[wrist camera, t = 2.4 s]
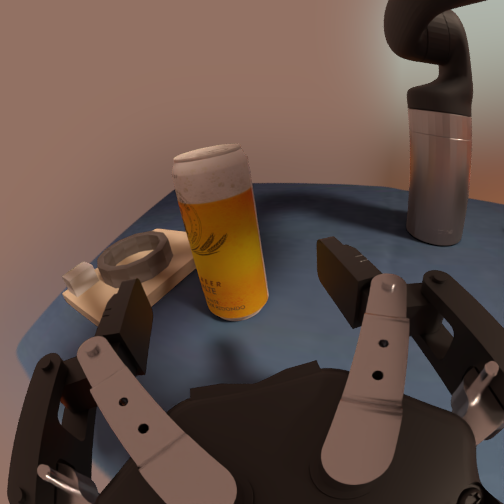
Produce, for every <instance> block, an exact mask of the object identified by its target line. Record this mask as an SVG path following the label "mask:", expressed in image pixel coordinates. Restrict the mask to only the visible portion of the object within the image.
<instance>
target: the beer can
mask: <svg viewBox="0 0 504 504" xmlns="http://www.w3.org/2000/svg"><path fill="white" fill-rule="evenodd" d="M173 160H174V164H173V169H172V179H173V183H174V187H175V191H176V195H177V199H178V203H179V207H180V211H181V215H182V219H183V222H184V226H185V230H186V234H187V237H188V241H189V244H190V248H191V252H192V255H193V259H194V262H195V265H196V269H197V272H198V276H199V279H200V282H201V285H202V289H203V292H204V295H205V298H206V301H207V305H208V308H209V309H210V311H211V312H212V313H213V314H215V315H217V316H219V317H221V318H223V319H225V320H229V321H241V320H245V319H248V318H250V317H252V316H254V315H256V314H257V313H258V312H259V311H260V310H261V309H262V307H263V306H264V305H265V303H266V302H267V300H268V296H269V295H268V287H267V280H266V273H265V266H264V259H263V252H262V246H261V239H260V232H259V226H258V219H257V212H256V206H255V199H254V193H253V186H252V180H251V174H250V167H249V161H248V157H247V156H246V154H245V153H244V151H243V150H242V148H241V145H240V144H224V145H217V146H211V147H206V148H202V149H197V150H193V151H190V152H187V153H184V154H181V155H179V156H176V157H175V158H173Z"/></svg>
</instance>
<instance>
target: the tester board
mask: <svg viewBox="0 0 504 504" xmlns="http://www.w3.org/2000/svg"><path fill="white" fill-rule="evenodd" d="M97 261H98V268H97V269H95V270H94V268H93V266H92V265H91V264H88V263H86V262H82V263H80V264H79V265H77V266H76V267H74V268H73V269H72V270H70V271H69V272H67V273H66V274H65V275H63V276H62V278H63V279H64V282H65V283H66V286H67V288H68V290H66V291H65V292H64V293H63V296H64V298H65V300H66V302H67V303H68V304H70V305H71V306H72V307H73V308H74V309H76V310H77V311H78V312H79V313H81V314H82V315H83V316H85V317H86V318H87V319H88V320H90V321H91V322H92V323H94V324H95V325H96V326H98V325H99V323H100V320H101V317H102V315H103V312H104V311H105V307H106V304H107V302H108V301H109V299H110V298H111V297H112V296H113V295H114V294H117V292H118V290H119V287H120V285H121V282H122V281H126V280H130V279H135V278H138V279H139V280H140V282H141V284H142V286H143V289H144V291H145V293H146V296H147V298H148V300H149V303H150V305H151V307H152V306H153V305H154V304H155V303H156V302H158V301H159V300H160V299H161V298H162V297H163V296H164V295H166V294H167V293H168V292H169V291H170V290H171V289H172V288H174V287H175V286H176V285H177V284H178V283H179V282H180V281H182V280H183V279H184V278H185V277H186V276H187V275H189V274H190V273H191V272H192V271H193V270H194V269H196V265H195V262H194V259H193V255H192V252H191V248H190V244H189V241H188V237H187V234H186V232H181V231H173V230H164V229H155V230H153V231H149V232H144V233H138V234H134V235H132V236H129V237H127V238H124V239H122V240H119V241H118V242H116V243H115V244H113V245H112V246H110V247H109V248H107V249H106V250H105V251H104V252H103V253H102V254H101V255H100V257H99V258H98V259H97Z"/></svg>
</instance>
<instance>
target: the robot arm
mask: <svg viewBox="0 0 504 504" xmlns="http://www.w3.org/2000/svg"><path fill="white" fill-rule="evenodd" d="M482 1H486V0H389V1H388V3H387V6H386V10H385V15H384V32H385V37H386V40H387V43H388V45H389V47H390V48H391V50H392V51H393V52H394V53H395V54H396V55H398V56H400V57H402V58H404V59H407V60H411V61H416V62H424V63H430V64H437V65H439V76H438V78H437V79H436V80H434V81H433V82H431V83H428V84H425V85H421V86H416V87H413V88H411V89H409V90H408V92H407V103H408V108H409V109H408V115H409V130H410V131H409V133H410V180H409V199H408V212H407V223H406V228H407V230H408V232H409V233H410V234H411V235H413V236H414V237H416V238H417V239H419V240H422V241H424V242H427V243H430V244H435V245H453V244H456V243H458V242H459V241H460V240H461V238H462V233H463V227H464V222H465V216H466V210H467V203H468V194H469V185H470V174H471V173H470V172H471V157H472V118H471V104H472V98H473V83H472V72H471V63H470V54H469V47H468V41H467V37H466V33H465V30H464V27H463V24H462V23H461V21H460V19H459V17H458V16H457V15H456V14H455V13H454V12H453V11H452V10H451V9H454V8H458V7H461V6H466V5H470V4H474V3H478V2H482ZM317 272H318V277H319V280H320V282H321V284H322V285H323V286H324V288H325V289H326V291H327V292H328V294H329V295H330V296H331V298H332V299H333V301H334V302H335V304H336V305H337V307H338V308H339V309H340V311H341V312H342V314H343V315H344V317H345V318H346V320H347V321H348V323H349V324H350V326H351V327H352V329H354V328H357V327H360V326H362V327H361V331H360V335H359V339H358V343H357V347H356V351H355V355H354V358H353V362H352V365H351V369H350V372H349V371H346V370H341V369H334V368H322V369H320V367H319V365H318V363H317V360H316V361H312V362H309V363H306V364H302V365H299V366H295V367H291V368H288V369H285V370H283V371H281V372H279V373H277V374H275V375H273V376H271V377H269V378H267V379H264V380H262V381H260V382H258V383H254V384H216V385H210V386H204V387H197V388H191V389H190V398H189V399H186V400H184V401H182V402H180V403H179V404H177V405H175V406H174V407H173V408H171V409H170V410H169V411H168V412H167V413H165V412H164V410H163V409H162V408H161V407H160V406H159V405H158V404H157V403H156V402H155V400H154V399H153V398H152V397H151V396H150V395H149V394H148V392H147V391H146V390H145V389H144V388H143V386H142V385H141V384H140V383H139V382H138V380H137V379H136V378H135V377H136V376H137V375H145V374H146V365H147V357H148V349H149V342H150V335H151V329H152V322H153V312H152V308H151V305H150V303H149V300H148V298H147V296H146V293H145V291H144V289H143V286H142V284H141V282H140V280H139V279H138V278H135V279H130V280H126V281H122V282H121V285H120V287H119V290H118V292H117V294H114V295H113V296H112V297H111V298H110V299H109V301H108V302H107V304H106V307H105V311H104V312H103V315H102V317H101V320H100V323H99V325H98V328H97V331H96V334H95V337H92V338H90V339H88V340H86V341H85V342H84V343H83V344H82V345H81V346H80V347H79V349H78V352H77V356H76V357H74V358H71V359H68V360H66V361H63V360H62V359H61V358H60V356H59V355H58V354H56V353H50V354H47V355H45V356H44V357H43V358H41V359H40V360H39V362H38V363H37V365H36V367H35V370H34V373H33V376H32V378H31V381H30V384H29V387H28V391H27V394H26V397H25V400H24V404H23V407H22V411H21V415H20V419H19V422H18V427H17V431H16V435H15V440H14V446H13V450H12V456H11V463H10V470H9V478H8V488H7V489H8V490H7V495H8V500H9V503H10V504H503V503H502V502H500V501H499V500H497V499H496V498H495V497H493V496H492V495H491V494H490V493H489V492H488V491H487V490H486V489H485V488H484V487H483V485H482V484H481V482H480V479H479V474H478V469H477V460H476V446H477V445H478V444H479V443H481V442H482V441H483V440H489V439H491V438H493V437H494V436H495V435H496V434H497V433H499V432H500V431H501V430H502V429H503V428H504V328H503V327H502V326H501V325H500V324H499V323H498V322H497V321H496V320H495V319H494V317H493V316H492V315H491V314H490V313H489V312H488V311H487V310H486V309H485V308H484V307H483V306H482V305H481V304H480V303H479V302H478V301H477V300H476V299H475V298H474V297H473V296H472V295H471V294H469V293H468V292H467V291H466V290H465V289H464V288H463V287H462V286H461V285H460V284H459V283H458V282H457V281H456V280H454V279H453V278H452V277H451V276H450V275H449V274H447V273H445V272H442V271H438V270H431V271H428V272H426V273H425V274H424V276H423V281H422V283H413V284H406V282H405V281H404V280H403V279H402V278H401V277H399V276H397V275H394V274H382V273H381V272H380V271H379V270H378V269H377V268H376V267H375V266H374V265H373V264H372V263H371V262H370V261H369V260H367V258H365V257H364V256H363V255H362V254H361V253H360V252H359V251H358V250H357V249H356V248H353V247H351V246H349V245H343V244H342V243H341V242H340V241H338V240H337V239H336V238H335V237H334V236H333V237H328V238H324V239H319V240H318V241H317ZM443 318H445V319H446V320H447V322H448V323H449V324H450V325H451V326H452V328H453V331H454V338H453V336H452V335H451V334H450V333H449V331H448V330H447V329H446V328H445V327H444V325H443V324H442V320H443ZM409 336H412V338H413V339H414V340H415V342H416V343H417V344H418V346H419V347H420V349H421V350H422V352H423V353H424V354H425V356H426V357H427V359H428V360H429V362H430V363H431V364H432V366H433V367H434V369H435V370H436V372H437V373H438V375H439V376H440V378H441V379H442V381H443V382H444V384H445V386H446V387H447V389H448V390H449V392H450V393H451V395H452V397H451V407H452V412H450V411H447V410H444V409H441V408H439V407H436V406H433V405H430V404H428V403H425V402H423V401H420V400H417V399H415V398H412V397H410V396H407V395H405V394H403V392H404V385H405V377H406V367H407V357H408V344H409ZM60 402H61V403H62V404H63V405H64V406H65V409H64V414H63V419H62V425H61V424H60V423H59V420H58V410H59V405H60ZM97 406H98V407H99V408H100V410H101V412H102V413H103V415H104V417H105V418H106V420H107V422H108V423H109V425H110V427H111V428H112V430H113V431H114V433H115V434H116V436H117V437H118V439H119V440H120V442H121V443H122V445H123V446H124V448H125V449H126V450H127V452H128V453H129V455H130V456H131V457H130V458H129V460H128V461H127V462H126V463H125V464H124V466H123V467H122V468H121V469H120V471H119V472H118V473H117V474H116V475H115V477H114V478H113V479H112V480H111V481H110V483H109V484H108V485H107V486H106V487H105V489H104V490H103V491H102V492H101V493H98V491H97V487H96V485H95V483H94V482H93V481H92V480H91V468H92V448H93V435H94V424H95V415H96V407H97Z"/></svg>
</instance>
